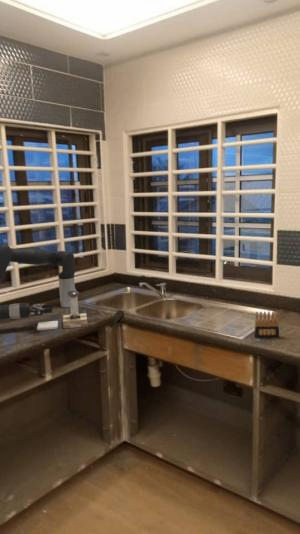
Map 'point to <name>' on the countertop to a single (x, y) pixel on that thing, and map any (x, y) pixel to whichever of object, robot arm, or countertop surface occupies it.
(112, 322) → the hand tool
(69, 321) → the eye block
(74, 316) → the steel hook peg
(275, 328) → the ammunition clip
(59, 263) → the robot arm
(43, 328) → the pad
